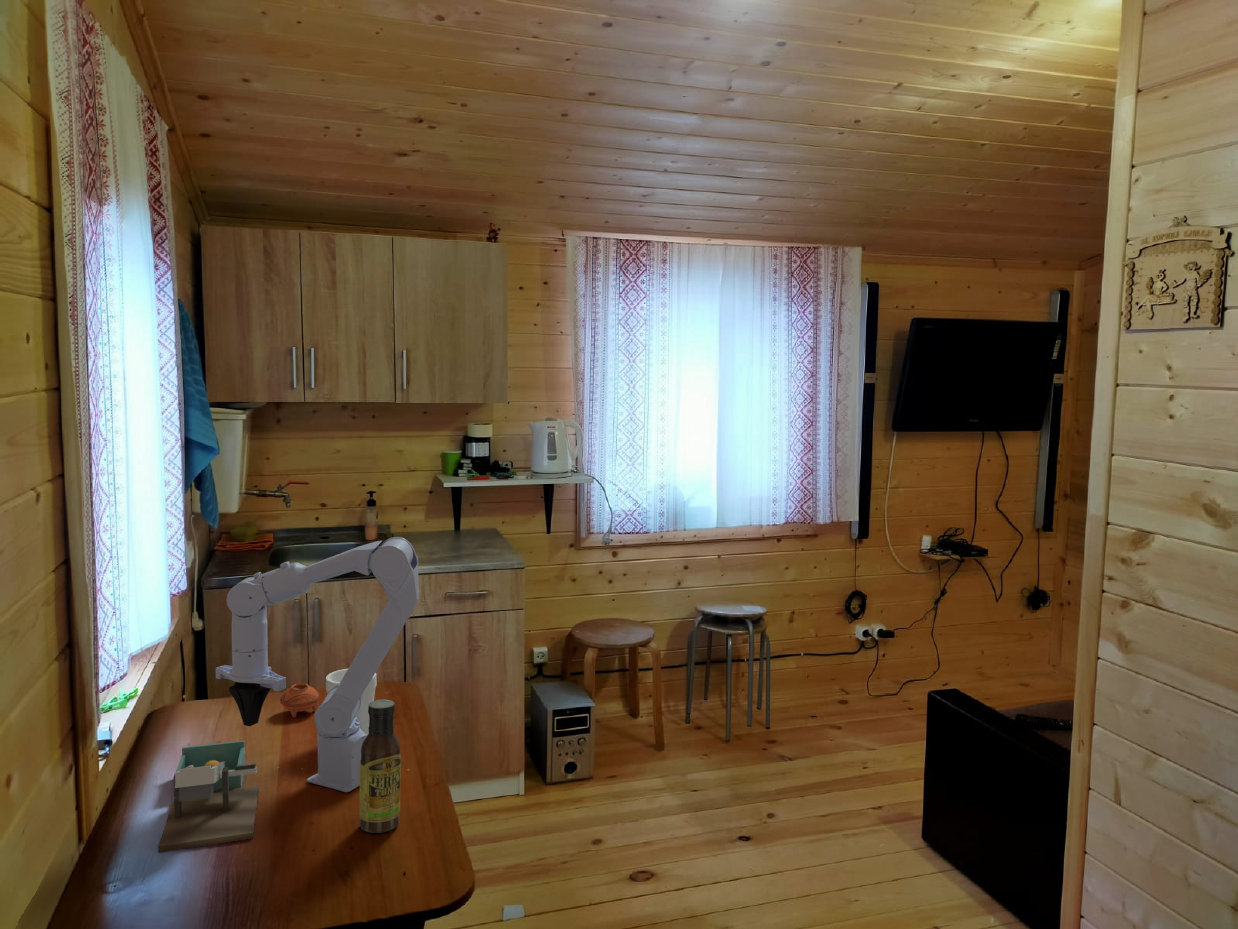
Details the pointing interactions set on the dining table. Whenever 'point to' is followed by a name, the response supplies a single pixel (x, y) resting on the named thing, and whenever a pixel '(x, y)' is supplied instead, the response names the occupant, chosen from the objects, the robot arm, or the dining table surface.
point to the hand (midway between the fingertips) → (251, 724)
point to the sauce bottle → (380, 771)
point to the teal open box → (216, 759)
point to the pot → (300, 698)
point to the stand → (210, 818)
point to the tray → (205, 779)
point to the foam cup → (366, 697)
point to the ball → (211, 763)
